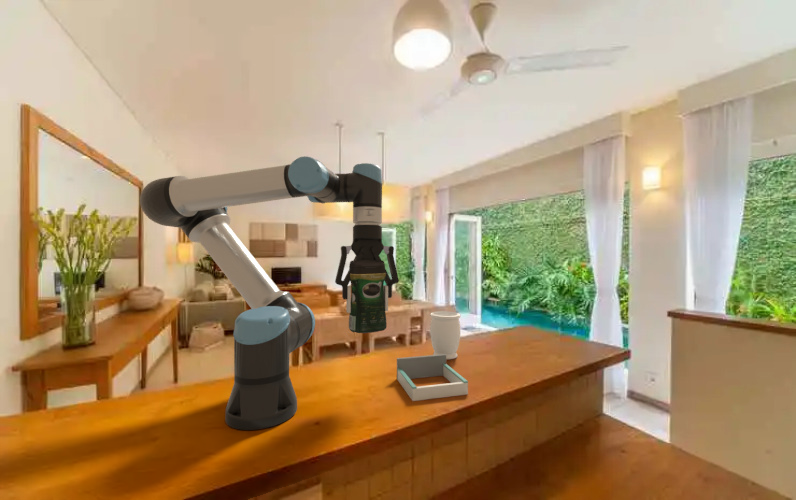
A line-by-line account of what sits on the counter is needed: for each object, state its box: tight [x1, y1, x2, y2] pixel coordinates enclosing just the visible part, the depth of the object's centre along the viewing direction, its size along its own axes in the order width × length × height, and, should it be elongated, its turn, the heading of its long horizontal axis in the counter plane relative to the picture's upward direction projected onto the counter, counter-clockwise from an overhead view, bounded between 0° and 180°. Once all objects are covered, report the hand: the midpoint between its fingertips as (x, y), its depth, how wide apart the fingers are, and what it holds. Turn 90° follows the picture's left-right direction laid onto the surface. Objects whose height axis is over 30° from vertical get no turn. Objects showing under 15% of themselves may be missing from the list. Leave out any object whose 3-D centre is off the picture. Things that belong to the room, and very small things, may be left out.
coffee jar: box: [348, 259, 387, 334], centre depth 88 cm, size 10×8×19 cm
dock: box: [396, 354, 469, 402], centre depth 93 cm, size 15×15×6 cm
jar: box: [429, 311, 461, 360], centre depth 120 cm, size 11×10×15 cm
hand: (367, 311), depth 88 cm, fingers closed on coffee jar, 9 cm apart
